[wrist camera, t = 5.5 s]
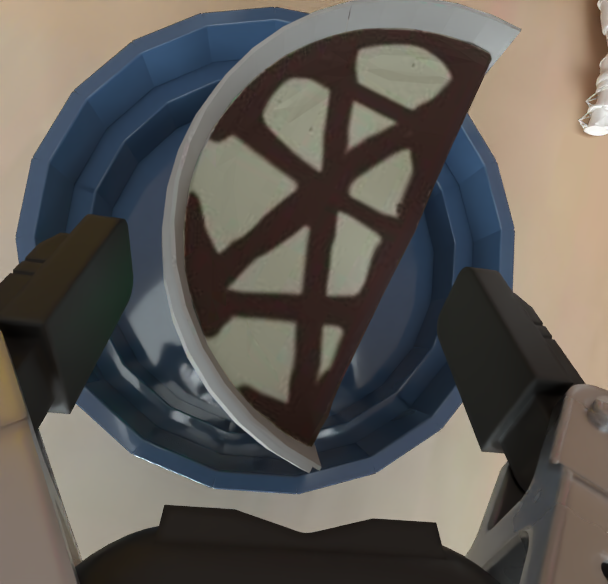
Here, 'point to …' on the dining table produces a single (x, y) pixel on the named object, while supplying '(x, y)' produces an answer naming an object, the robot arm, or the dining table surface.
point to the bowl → (150, 280)
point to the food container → (312, 199)
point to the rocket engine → (600, 87)
